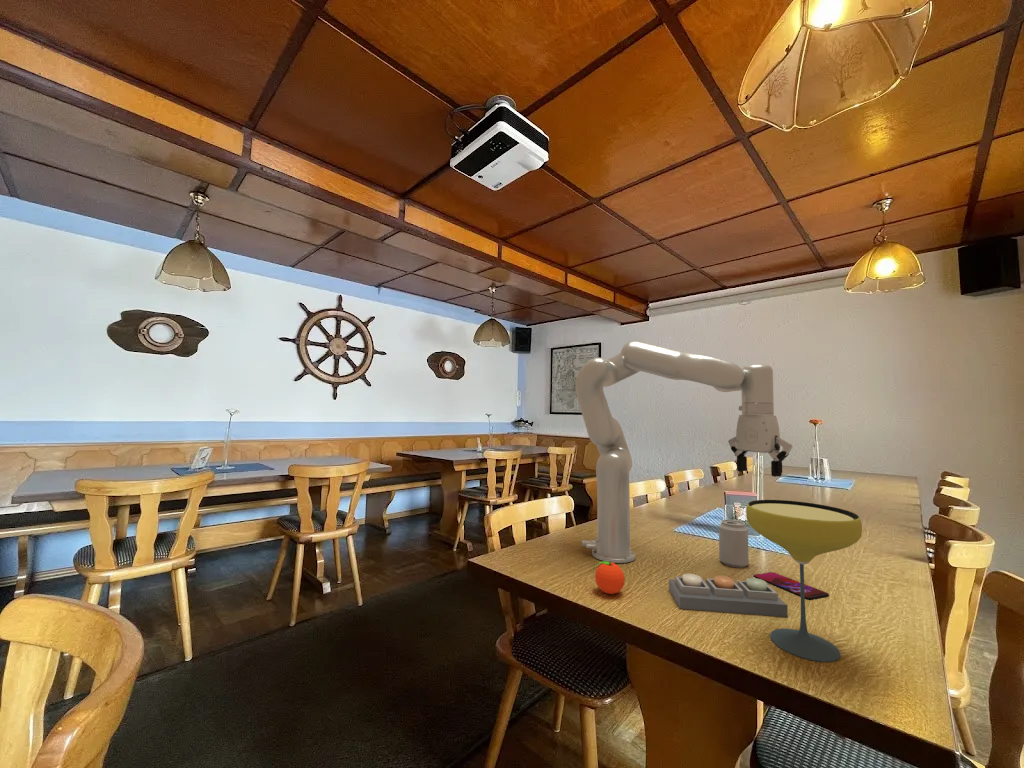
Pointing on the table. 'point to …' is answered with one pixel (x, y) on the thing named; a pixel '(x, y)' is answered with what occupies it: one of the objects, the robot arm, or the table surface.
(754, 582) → the sage button
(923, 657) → the table surface
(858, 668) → the table surface
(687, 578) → the cream button
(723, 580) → the terracotta button
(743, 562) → the can
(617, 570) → the clementine
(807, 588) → the smartphone
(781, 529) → the cocktail glass
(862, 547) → the table surface
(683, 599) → the button panel
